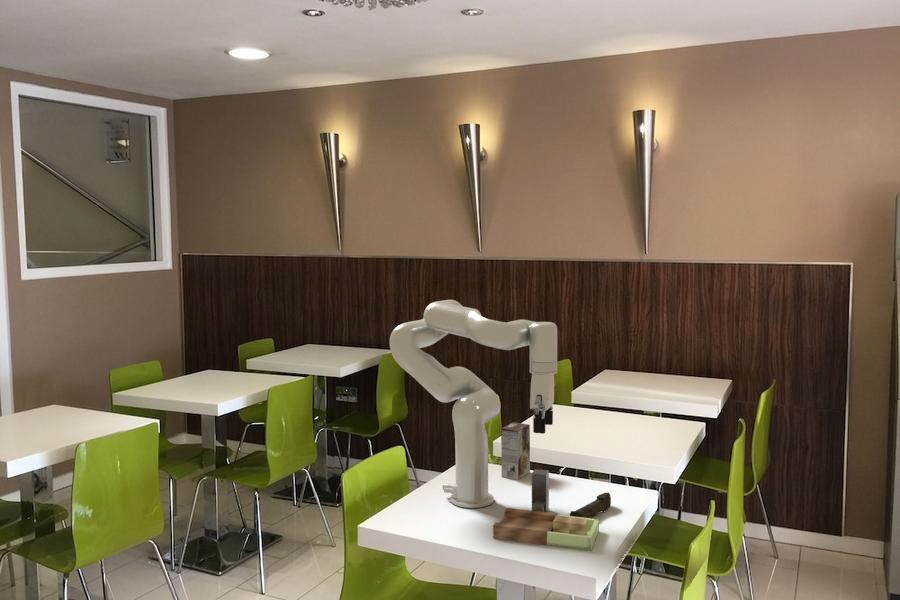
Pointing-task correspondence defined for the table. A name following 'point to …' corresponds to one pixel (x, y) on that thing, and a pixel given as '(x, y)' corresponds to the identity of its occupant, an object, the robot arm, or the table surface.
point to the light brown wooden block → (578, 526)
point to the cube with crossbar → (540, 490)
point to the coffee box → (515, 450)
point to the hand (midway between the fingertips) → (543, 428)
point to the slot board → (524, 526)
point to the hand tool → (594, 507)
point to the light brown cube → (561, 524)
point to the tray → (575, 536)
